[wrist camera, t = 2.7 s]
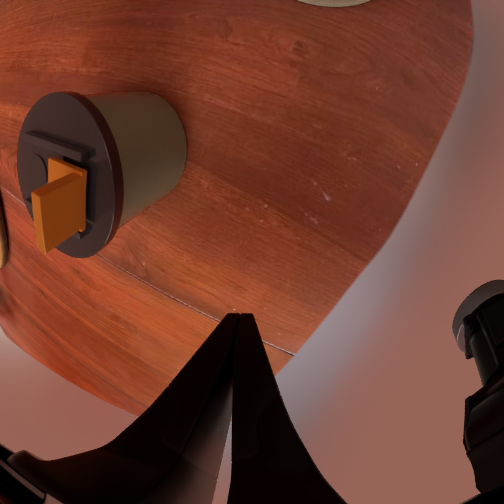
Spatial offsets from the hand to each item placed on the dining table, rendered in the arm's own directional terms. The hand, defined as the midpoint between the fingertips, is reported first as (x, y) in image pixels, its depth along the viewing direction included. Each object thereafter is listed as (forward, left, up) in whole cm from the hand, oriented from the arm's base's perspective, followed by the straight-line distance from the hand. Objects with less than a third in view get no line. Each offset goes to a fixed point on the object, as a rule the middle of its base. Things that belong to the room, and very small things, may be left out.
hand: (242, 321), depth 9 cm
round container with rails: (+10, +8, -12) cm, 18 cm away
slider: (+9, +7, -3) cm, 12 cm away
